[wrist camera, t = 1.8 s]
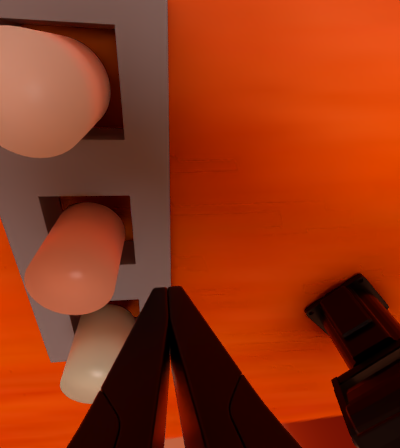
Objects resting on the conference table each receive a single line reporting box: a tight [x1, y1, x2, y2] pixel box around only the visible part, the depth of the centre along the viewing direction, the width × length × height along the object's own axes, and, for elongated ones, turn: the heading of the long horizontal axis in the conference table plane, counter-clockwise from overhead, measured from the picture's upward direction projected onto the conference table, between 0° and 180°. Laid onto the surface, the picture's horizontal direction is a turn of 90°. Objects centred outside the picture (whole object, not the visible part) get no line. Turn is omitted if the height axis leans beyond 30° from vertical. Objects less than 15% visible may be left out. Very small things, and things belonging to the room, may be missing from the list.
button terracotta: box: [24, 202, 125, 315], centre depth 16 cm, size 4×4×5 cm
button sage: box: [60, 304, 135, 404], centre depth 21 cm, size 4×4×5 cm
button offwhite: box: [0, 25, 111, 158], centre depth 12 cm, size 4×4×5 cm
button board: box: [0, 0, 171, 362], centre depth 20 cm, size 25×10×3 cm, turn 178°
